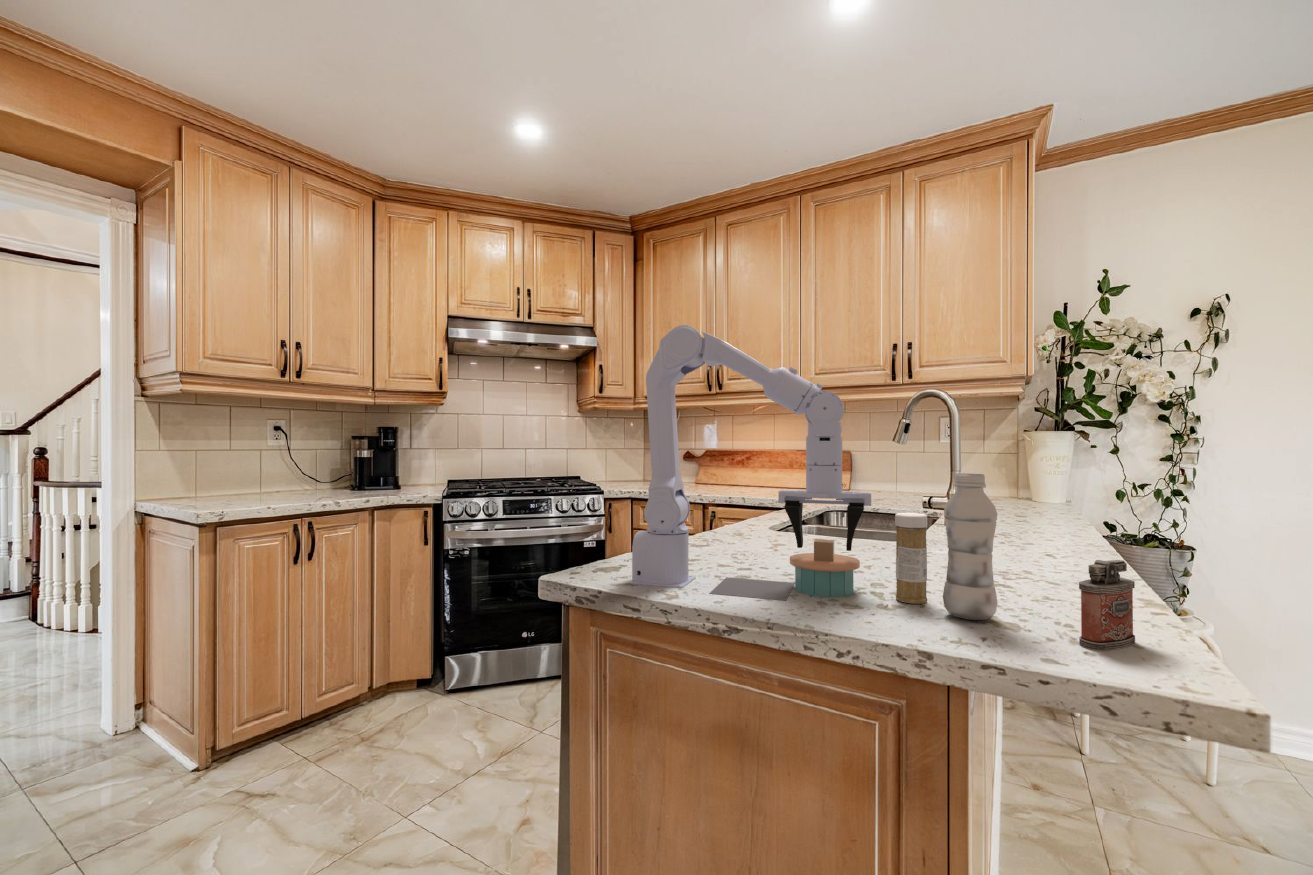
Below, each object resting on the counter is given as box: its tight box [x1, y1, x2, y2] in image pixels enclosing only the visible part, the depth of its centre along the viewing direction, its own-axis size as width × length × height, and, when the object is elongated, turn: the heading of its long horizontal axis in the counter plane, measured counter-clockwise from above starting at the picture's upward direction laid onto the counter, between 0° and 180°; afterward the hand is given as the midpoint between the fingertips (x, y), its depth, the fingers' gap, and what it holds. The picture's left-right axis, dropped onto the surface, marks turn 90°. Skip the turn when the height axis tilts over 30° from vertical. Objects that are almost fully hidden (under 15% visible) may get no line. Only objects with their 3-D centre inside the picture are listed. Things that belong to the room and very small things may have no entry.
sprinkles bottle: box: [894, 512, 928, 605], centre depth 90 cm, size 5×5×14 cm
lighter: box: [1078, 559, 1136, 652], centre depth 70 cm, size 8×3×10 cm, turn 114°
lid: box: [789, 538, 861, 572], centre depth 95 cm, size 11×11×4 cm
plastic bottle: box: [942, 472, 998, 621], centre depth 81 cm, size 6×7×20 cm
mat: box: [708, 576, 795, 602], centre depth 96 cm, size 12×12×1 cm
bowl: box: [794, 566, 854, 598], centre depth 95 cm, size 9×9×4 cm
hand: (824, 548), depth 95 cm, fingers open, 7 cm apart
